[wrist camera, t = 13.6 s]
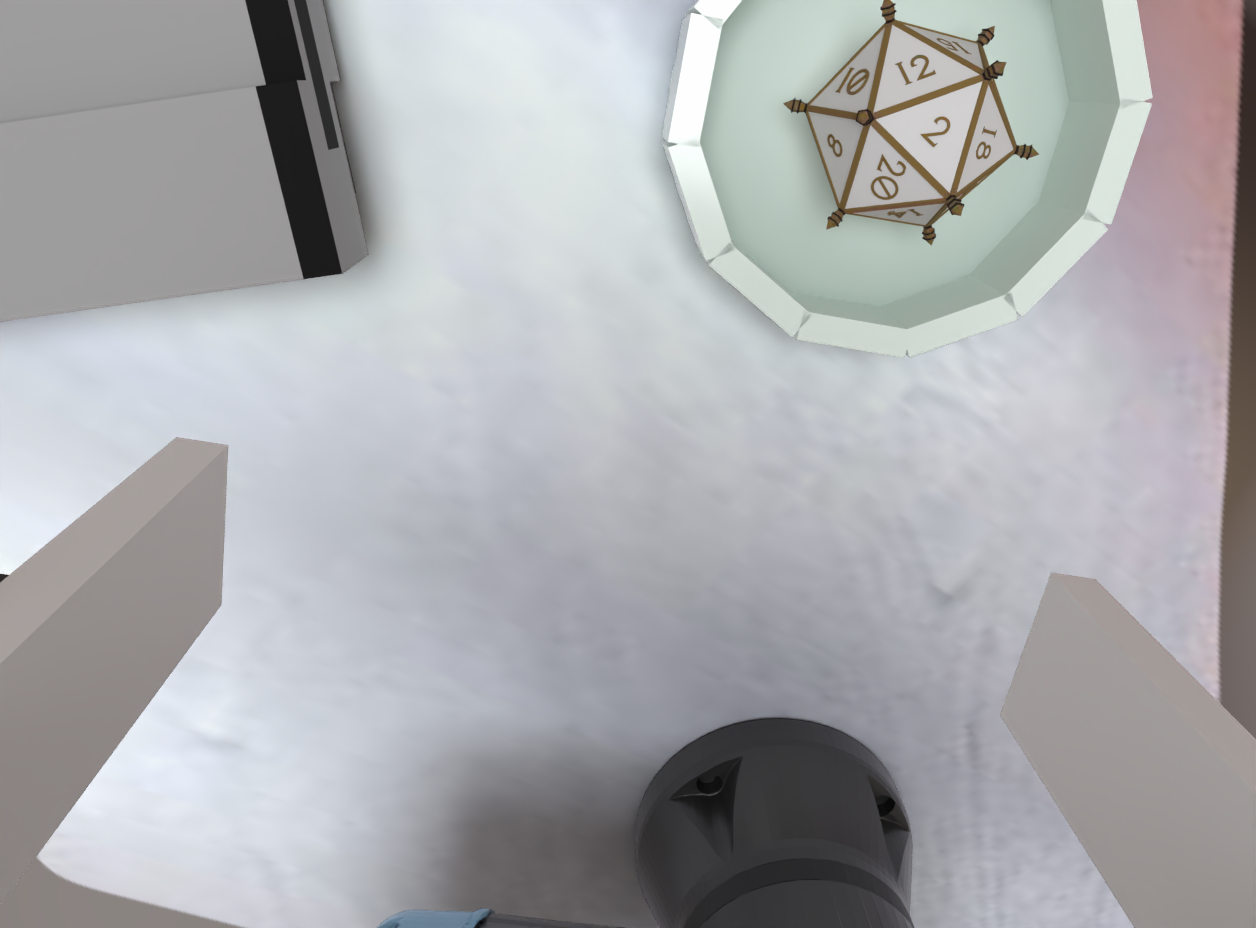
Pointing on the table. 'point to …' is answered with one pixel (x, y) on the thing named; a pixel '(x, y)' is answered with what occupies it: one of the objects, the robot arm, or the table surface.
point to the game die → (911, 125)
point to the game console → (167, 151)
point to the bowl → (884, 250)
